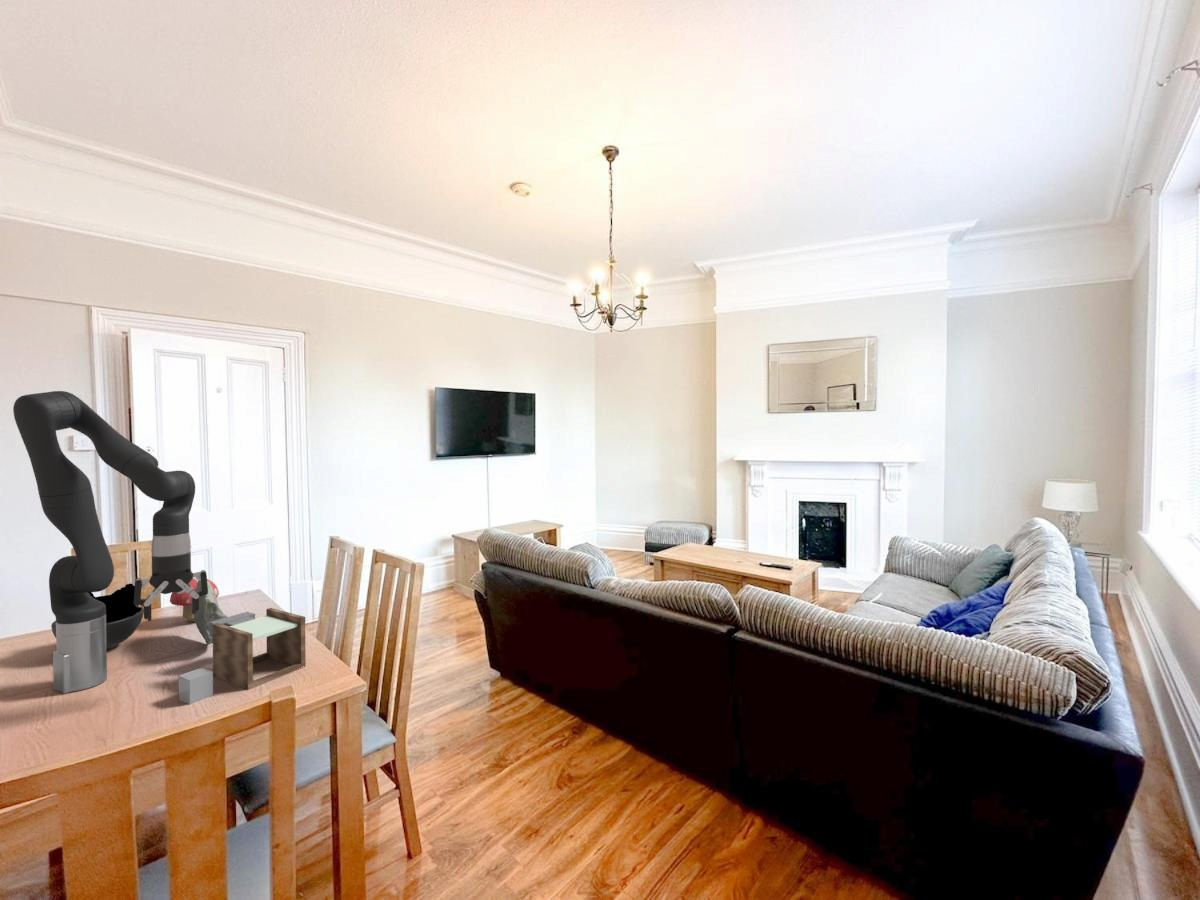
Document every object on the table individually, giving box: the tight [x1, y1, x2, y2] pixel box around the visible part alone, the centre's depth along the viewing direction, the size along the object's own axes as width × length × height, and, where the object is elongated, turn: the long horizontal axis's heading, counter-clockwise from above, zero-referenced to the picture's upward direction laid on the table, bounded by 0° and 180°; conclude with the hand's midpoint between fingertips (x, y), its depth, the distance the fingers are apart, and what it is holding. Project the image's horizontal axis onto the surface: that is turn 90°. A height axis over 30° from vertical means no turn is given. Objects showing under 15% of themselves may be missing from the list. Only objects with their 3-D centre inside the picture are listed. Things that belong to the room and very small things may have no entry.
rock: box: [194, 579, 228, 646], centre depth 162 cm, size 27×6×20 cm, turn 48°
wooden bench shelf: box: [212, 607, 306, 690], centre depth 145 cm, size 16×15×14 cm
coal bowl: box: [50, 583, 144, 650], centre depth 158 cm, size 20×20×19 cm
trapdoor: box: [209, 611, 297, 642], centre depth 147 cm, size 22×12×4 cm, turn 63°
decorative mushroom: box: [169, 577, 220, 623], centre depth 182 cm, size 13×13×15 cm
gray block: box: [178, 667, 214, 705], centre depth 130 cm, size 5×5×6 cm
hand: (172, 616), depth 131 cm, fingers open, 8 cm apart
